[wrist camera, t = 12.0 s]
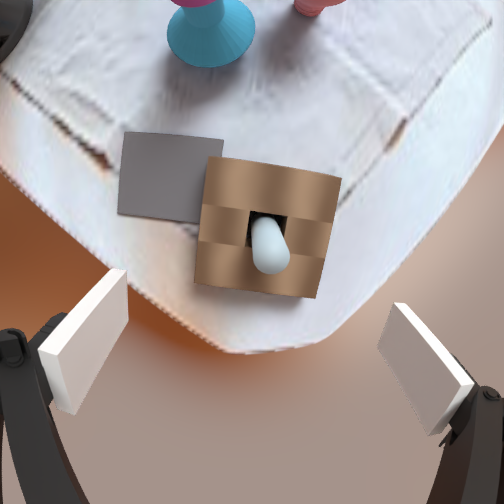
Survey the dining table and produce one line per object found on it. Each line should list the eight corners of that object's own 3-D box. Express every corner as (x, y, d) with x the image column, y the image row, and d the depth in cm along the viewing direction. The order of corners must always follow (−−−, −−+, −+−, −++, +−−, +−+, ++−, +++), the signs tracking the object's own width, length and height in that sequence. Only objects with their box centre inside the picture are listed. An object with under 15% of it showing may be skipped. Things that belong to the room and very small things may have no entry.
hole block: (199, 270, 38) (194, 283, 34) (212, 155, 34) (208, 156, 30) (309, 284, 39) (315, 298, 35) (331, 175, 35) (341, 178, 31)
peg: (249, 234, 37) (250, 272, 25) (252, 209, 36) (255, 236, 25) (274, 237, 37) (286, 276, 26) (278, 213, 36) (292, 241, 25)
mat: (118, 212, 36) (117, 213, 35) (125, 131, 33) (124, 131, 32) (212, 224, 36) (211, 225, 36) (223, 139, 33) (223, 139, 33)
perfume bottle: (176, 16, 28) (141, -47, 14) (252, 9, 28) (256, -61, 14) (176, 80, 31) (132, 39, 17) (255, 74, 31) (261, 24, 17)
